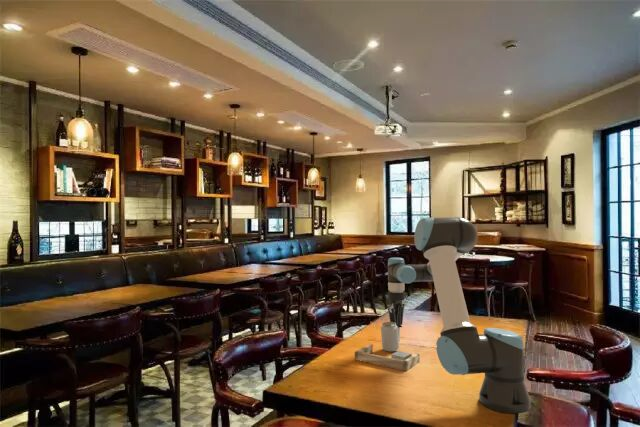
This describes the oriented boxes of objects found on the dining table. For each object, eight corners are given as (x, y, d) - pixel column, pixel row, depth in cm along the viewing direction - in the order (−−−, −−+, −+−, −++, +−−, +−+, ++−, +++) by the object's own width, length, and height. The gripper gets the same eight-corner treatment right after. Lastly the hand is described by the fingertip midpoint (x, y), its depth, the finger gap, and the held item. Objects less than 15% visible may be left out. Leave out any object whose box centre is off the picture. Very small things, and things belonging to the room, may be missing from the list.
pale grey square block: (404, 367, 171) (404, 357, 172) (391, 364, 175) (391, 354, 175) (411, 363, 176) (411, 353, 176) (399, 360, 180) (398, 350, 180)
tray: (406, 371, 166) (406, 362, 166) (354, 360, 180) (354, 351, 180) (419, 362, 177) (419, 353, 177) (369, 352, 190) (369, 344, 190)
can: (380, 351, 191) (378, 325, 190) (385, 345, 198) (383, 320, 197) (396, 353, 188) (394, 327, 187) (401, 346, 195) (399, 321, 194)
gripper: (395, 288, 206) (395, 336, 206) (382, 292, 195) (383, 343, 196) (409, 289, 201) (410, 339, 202) (397, 294, 191) (398, 346, 191)
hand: (396, 341), depth 199 cm, fingers closed
